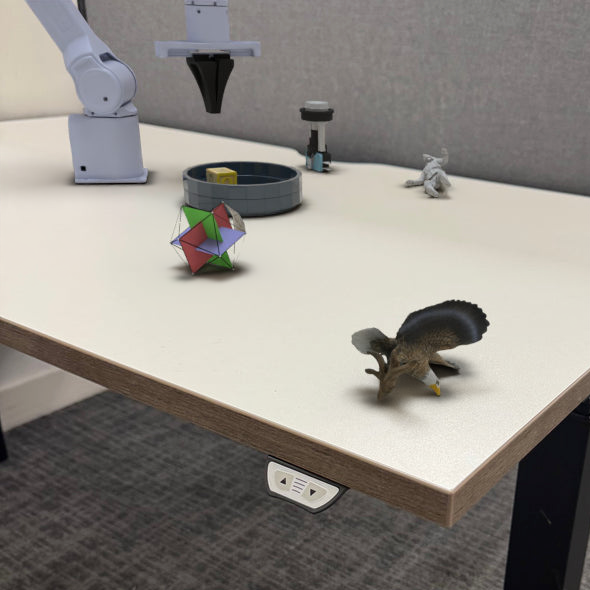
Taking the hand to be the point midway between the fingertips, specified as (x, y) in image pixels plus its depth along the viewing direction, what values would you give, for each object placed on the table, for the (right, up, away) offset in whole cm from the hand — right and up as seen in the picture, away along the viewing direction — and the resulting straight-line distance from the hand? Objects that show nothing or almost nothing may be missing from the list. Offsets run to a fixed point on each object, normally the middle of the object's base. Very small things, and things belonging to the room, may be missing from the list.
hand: (213, 112), depth 111 cm
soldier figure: (+31, -9, +5) cm, 33 cm away
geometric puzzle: (+7, -27, -31) cm, 42 cm away
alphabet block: (+2, -13, -5) cm, 14 cm away
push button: (+14, -4, +14) cm, 20 cm away
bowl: (+6, -15, -7) cm, 17 cm away
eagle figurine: (+28, -40, -53) cm, 72 cm away
